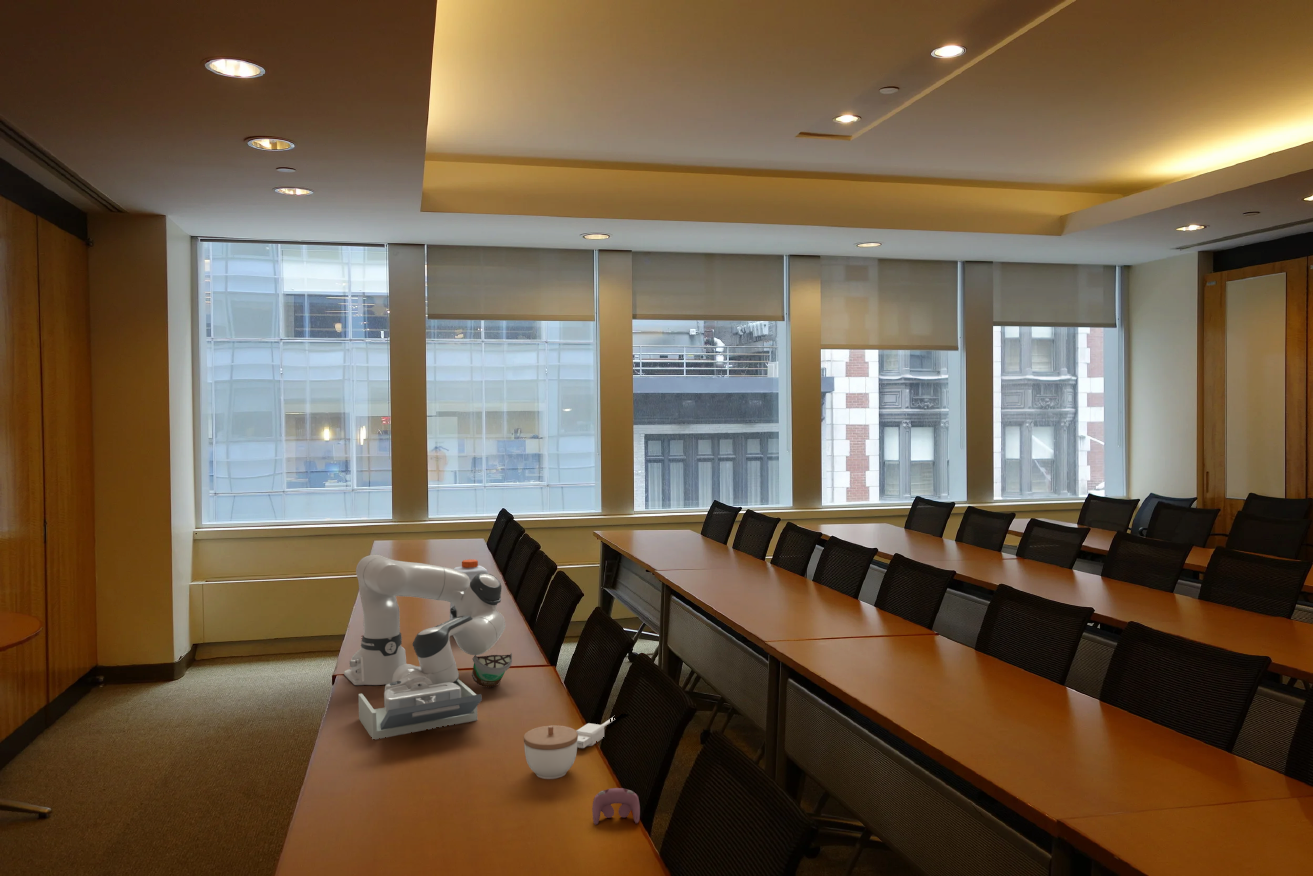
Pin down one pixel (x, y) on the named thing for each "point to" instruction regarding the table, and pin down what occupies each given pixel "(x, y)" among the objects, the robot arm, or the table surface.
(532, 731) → the lidded bowl
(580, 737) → the charging cable
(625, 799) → the video game controller
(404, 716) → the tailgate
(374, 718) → the tray
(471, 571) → the plastic bottle
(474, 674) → the food container
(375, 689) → the table surface
